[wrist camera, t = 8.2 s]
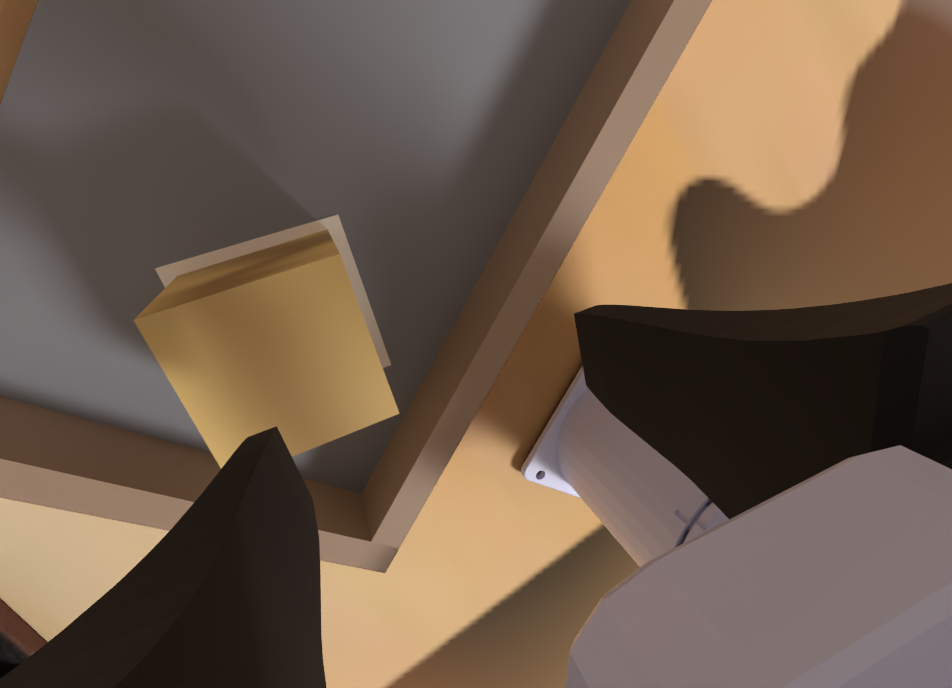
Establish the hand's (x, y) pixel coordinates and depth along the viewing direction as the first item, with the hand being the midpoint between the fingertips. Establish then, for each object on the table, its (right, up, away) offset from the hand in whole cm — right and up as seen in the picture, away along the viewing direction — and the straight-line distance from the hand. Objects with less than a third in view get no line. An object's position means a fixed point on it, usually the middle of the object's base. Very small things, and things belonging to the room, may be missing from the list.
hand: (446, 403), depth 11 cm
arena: (-5, +7, +6) cm, 11 cm away
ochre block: (-6, +2, +6) cm, 9 cm away
